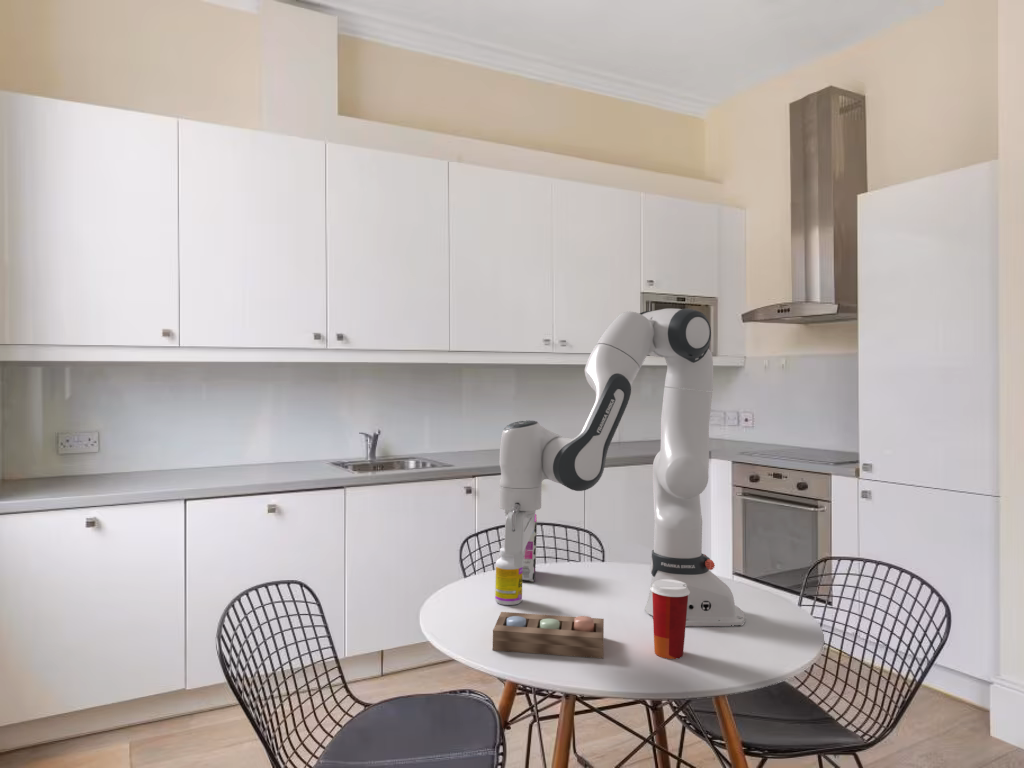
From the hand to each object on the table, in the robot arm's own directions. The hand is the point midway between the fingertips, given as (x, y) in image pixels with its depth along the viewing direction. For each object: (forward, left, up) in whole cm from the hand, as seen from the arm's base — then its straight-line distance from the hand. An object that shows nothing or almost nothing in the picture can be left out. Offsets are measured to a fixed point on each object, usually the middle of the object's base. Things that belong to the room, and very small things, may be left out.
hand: (519, 565), depth 143 cm
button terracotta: (-14, 0, -13) cm, 19 cm away
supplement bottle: (+5, -25, -16) cm, 30 cm away
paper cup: (-31, 0, -16) cm, 35 cm away
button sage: (-7, 0, -14) cm, 15 cm away
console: (-7, 0, -16) cm, 17 cm away
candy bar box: (+3, -47, -16) cm, 49 cm away
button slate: (0, 0, -14) cm, 14 cm away
